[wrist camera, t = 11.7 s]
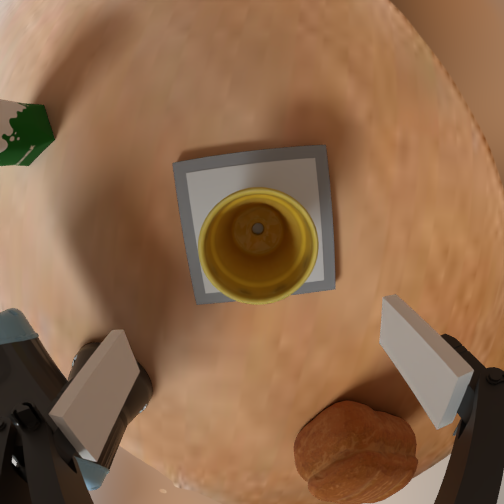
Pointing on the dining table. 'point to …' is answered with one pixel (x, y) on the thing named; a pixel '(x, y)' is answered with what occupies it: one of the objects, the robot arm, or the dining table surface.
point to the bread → (355, 454)
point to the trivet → (257, 175)
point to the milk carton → (23, 132)
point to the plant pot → (258, 245)
